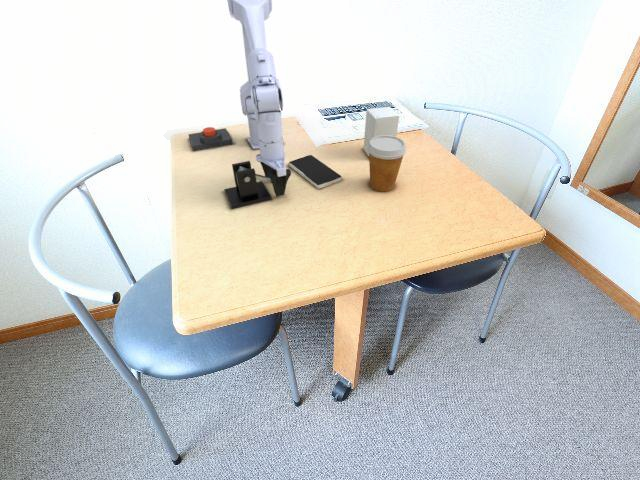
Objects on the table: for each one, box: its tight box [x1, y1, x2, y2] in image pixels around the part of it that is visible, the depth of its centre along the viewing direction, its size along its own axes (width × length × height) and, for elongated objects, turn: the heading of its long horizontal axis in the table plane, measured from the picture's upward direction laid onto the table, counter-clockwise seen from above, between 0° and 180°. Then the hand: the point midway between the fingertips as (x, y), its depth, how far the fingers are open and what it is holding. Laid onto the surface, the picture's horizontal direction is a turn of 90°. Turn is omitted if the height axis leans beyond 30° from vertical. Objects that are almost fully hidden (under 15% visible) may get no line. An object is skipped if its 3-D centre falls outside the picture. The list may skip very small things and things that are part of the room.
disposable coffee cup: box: [367, 135, 407, 192], centre depth 93 cm, size 10×10×12 cm
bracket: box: [223, 160, 272, 210], centre depth 91 cm, size 10×8×8 cm
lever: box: [237, 166, 272, 184], centre depth 91 cm, size 10×4×2 cm, turn 113°
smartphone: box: [288, 154, 342, 189], centre depth 102 cm, size 8×1×15 cm
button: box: [202, 126, 216, 137], centre depth 113 cm, size 4×4×2 cm
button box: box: [187, 127, 233, 152], centre depth 115 cm, size 12×10×4 cm
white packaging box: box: [363, 106, 400, 157], centre depth 106 cm, size 7×7×13 cm
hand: (275, 187), depth 95 cm, fingers open, 7 cm apart
